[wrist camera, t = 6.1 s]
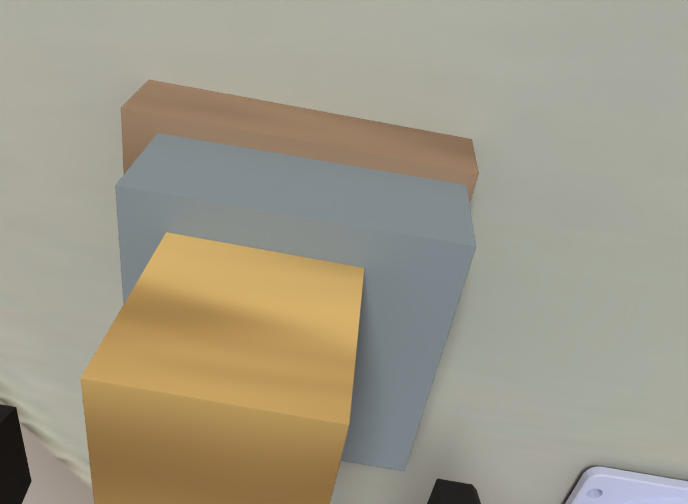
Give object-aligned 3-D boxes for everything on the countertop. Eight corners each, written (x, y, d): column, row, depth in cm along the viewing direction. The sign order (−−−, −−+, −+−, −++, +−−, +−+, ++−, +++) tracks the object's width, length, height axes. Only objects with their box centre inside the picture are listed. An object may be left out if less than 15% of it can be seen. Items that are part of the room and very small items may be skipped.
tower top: (404, 397, 18) (404, 471, 16) (163, 358, 18) (131, 426, 16) (466, 184, 14) (476, 246, 12) (157, 132, 14) (115, 185, 12)
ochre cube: (334, 402, 15) (313, 567, 12) (166, 373, 15) (97, 531, 12) (364, 268, 13) (349, 425, 9) (166, 232, 13) (80, 378, 9)
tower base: (402, 354, 21) (402, 413, 19) (159, 311, 20) (131, 366, 18) (469, 128, 16) (478, 173, 14) (157, 70, 16) (121, 107, 14)
